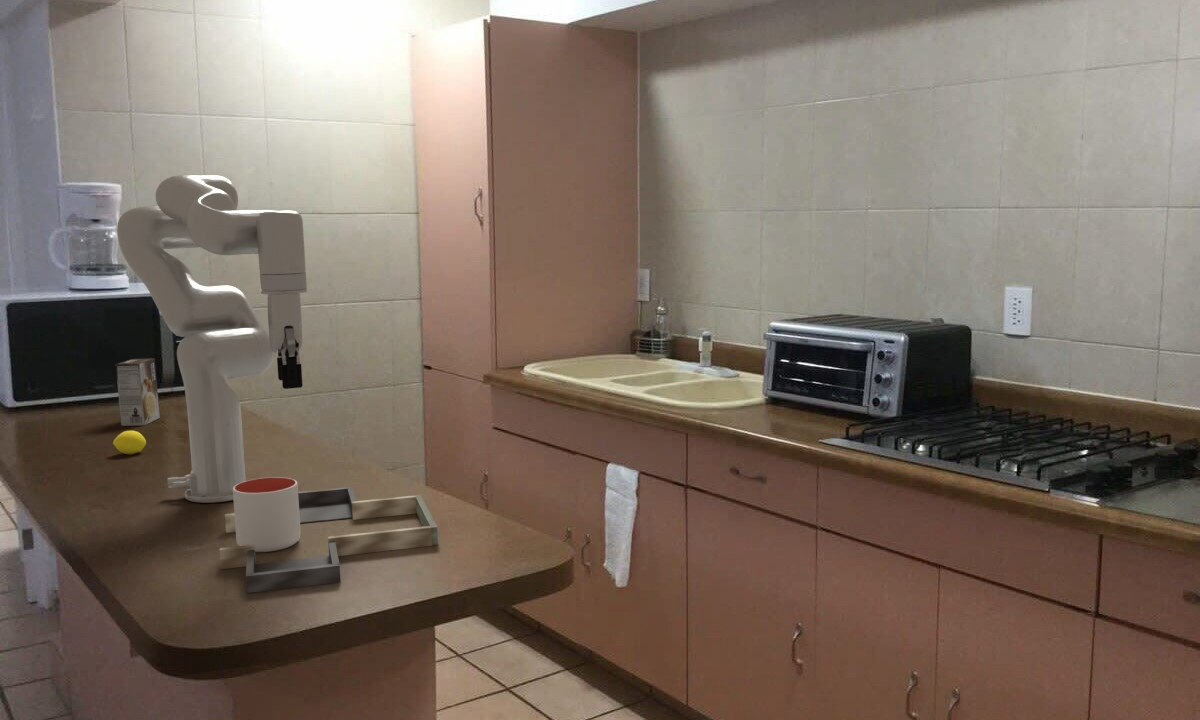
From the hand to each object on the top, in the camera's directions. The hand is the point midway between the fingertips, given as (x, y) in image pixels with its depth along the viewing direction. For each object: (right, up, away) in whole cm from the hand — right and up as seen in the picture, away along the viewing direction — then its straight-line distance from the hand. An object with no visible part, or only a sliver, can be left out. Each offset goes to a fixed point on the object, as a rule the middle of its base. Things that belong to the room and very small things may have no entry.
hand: (290, 383), depth 182 cm
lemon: (-53, -17, +56) cm, 79 cm away
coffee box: (-66, -12, +92) cm, 114 cm away
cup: (-1, -26, -10) cm, 28 cm away
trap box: (+8, -25, -7) cm, 28 cm away
